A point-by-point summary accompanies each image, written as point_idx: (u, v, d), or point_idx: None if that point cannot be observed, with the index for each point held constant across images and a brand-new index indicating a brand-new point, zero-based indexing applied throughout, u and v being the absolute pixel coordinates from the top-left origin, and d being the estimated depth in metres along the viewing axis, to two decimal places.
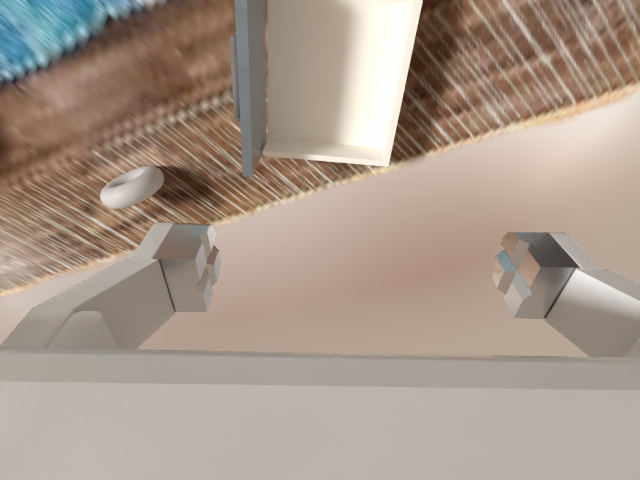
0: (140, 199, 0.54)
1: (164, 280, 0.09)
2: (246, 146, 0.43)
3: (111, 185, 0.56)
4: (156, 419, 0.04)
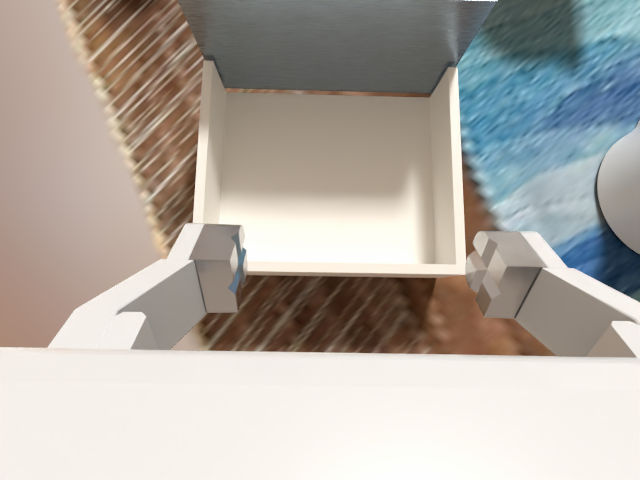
0: None
1: (197, 280, 0.09)
2: None
3: None
4: (156, 419, 0.04)
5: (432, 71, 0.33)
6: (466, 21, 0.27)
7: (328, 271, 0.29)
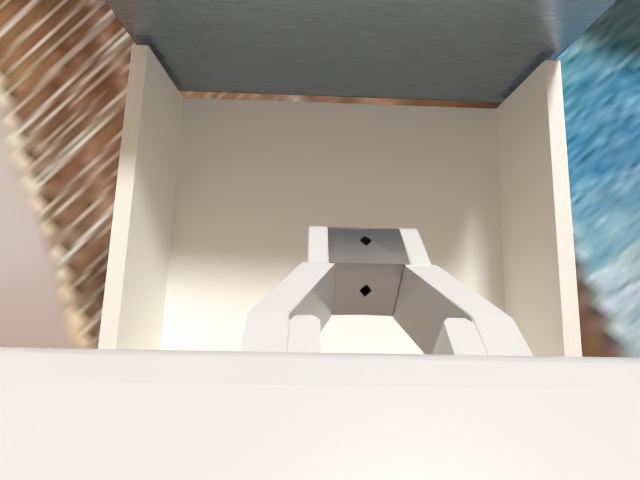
0: None
1: (332, 283, 0.09)
2: None
3: None
4: (156, 419, 0.04)
5: (513, 66, 0.20)
6: None
7: None
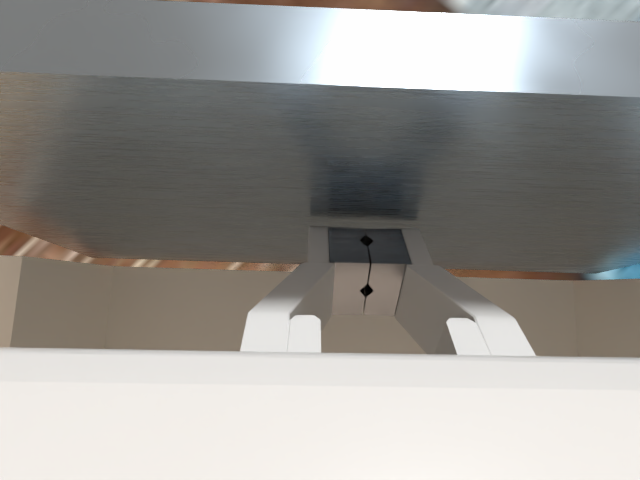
0: None
1: (332, 283, 0.09)
2: None
3: None
4: (156, 419, 0.04)
5: (623, 253, 0.12)
6: None
7: None
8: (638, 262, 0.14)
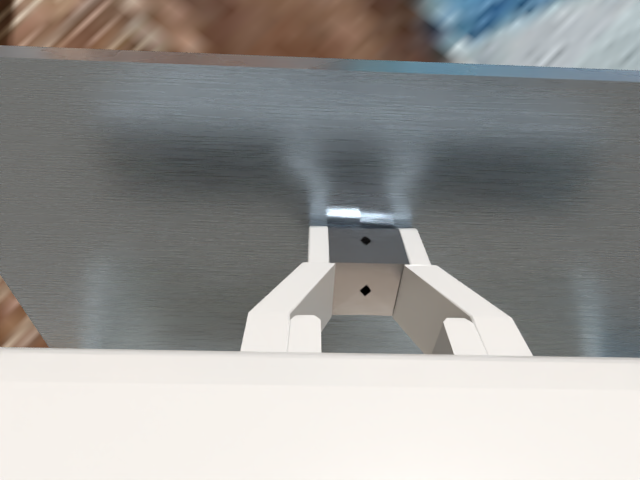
0: None
1: (333, 283, 0.09)
2: (64, 53, 0.08)
3: None
4: (156, 419, 0.04)
5: (617, 329, 0.13)
6: None
7: None
8: None
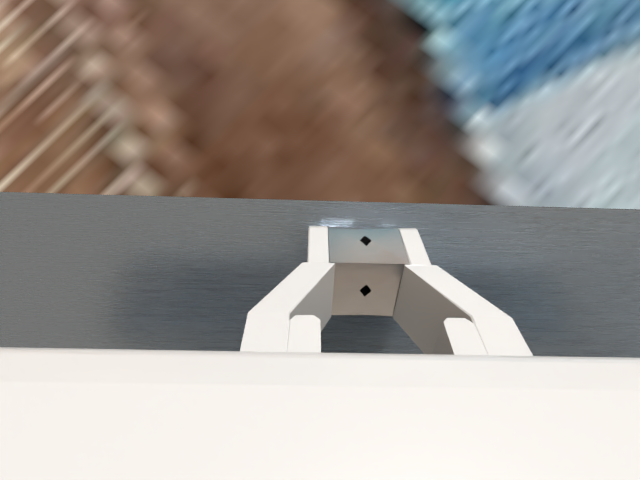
0: None
1: (333, 283, 0.09)
2: None
3: None
4: (156, 419, 0.04)
5: None
6: None
7: None
8: None
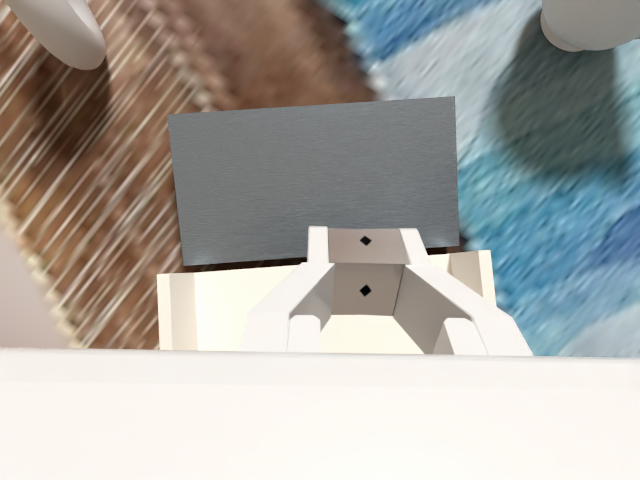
0: None
1: (332, 283, 0.09)
2: None
3: None
4: (156, 419, 0.04)
5: (435, 201, 0.29)
6: (438, 123, 0.28)
7: None
8: (455, 216, 0.29)
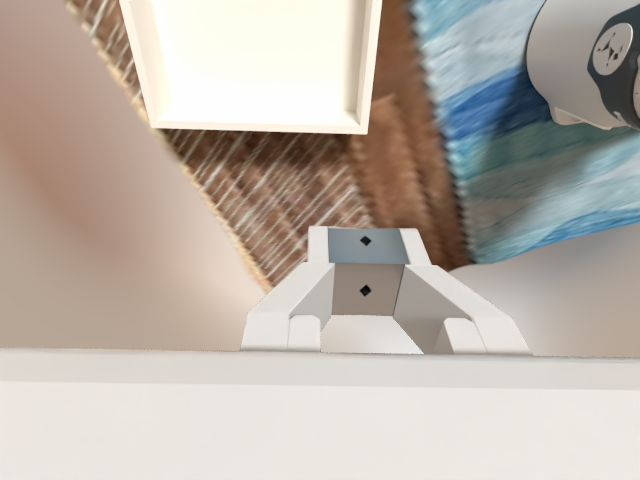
0: None
1: (332, 283, 0.09)
2: None
3: None
4: (156, 419, 0.04)
5: None
6: None
7: (259, 130, 0.37)
8: None
